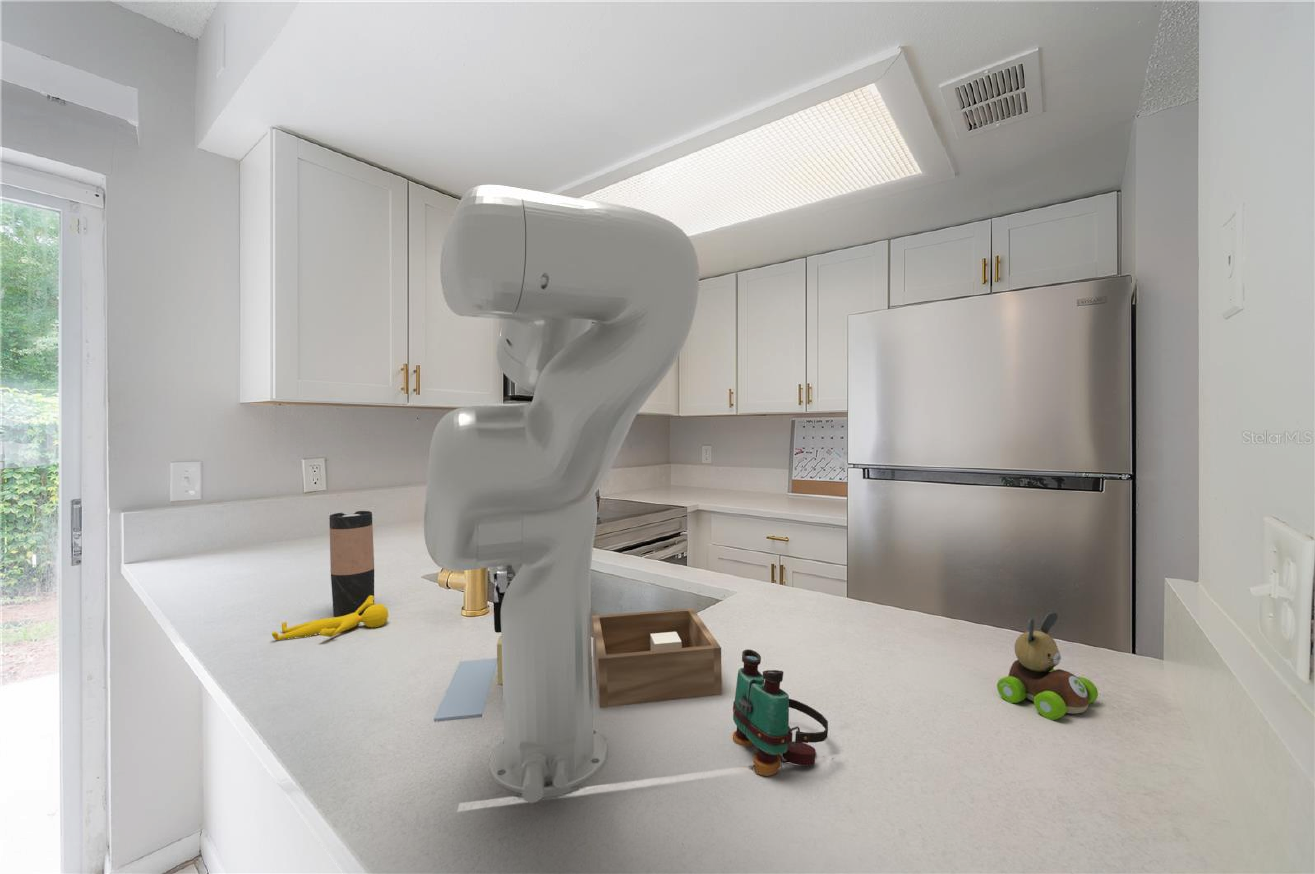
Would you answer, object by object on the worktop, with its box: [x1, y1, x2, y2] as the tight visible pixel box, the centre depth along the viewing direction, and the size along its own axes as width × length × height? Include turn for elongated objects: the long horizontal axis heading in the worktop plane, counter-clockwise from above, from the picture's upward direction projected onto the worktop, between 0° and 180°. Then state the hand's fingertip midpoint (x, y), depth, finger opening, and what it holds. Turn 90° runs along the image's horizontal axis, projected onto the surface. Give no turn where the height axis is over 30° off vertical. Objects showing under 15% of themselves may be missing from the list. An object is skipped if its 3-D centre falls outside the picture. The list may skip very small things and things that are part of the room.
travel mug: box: [329, 510, 375, 618], centre depth 110 cm, size 8×8×20 cm
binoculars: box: [732, 648, 829, 776], centre depth 61 cm, size 9×11×10 cm
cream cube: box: [650, 632, 682, 651], centre depth 82 cm, size 4×4×4 cm
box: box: [591, 607, 723, 708], centre depth 79 cm, size 16×16×7 cm
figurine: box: [271, 595, 389, 641], centre depth 101 cm, size 14×5×18 cm
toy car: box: [996, 611, 1099, 721], centre depth 70 cm, size 9×9×11 cm
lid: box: [433, 635, 503, 723], centre depth 78 cm, size 17×17×7 cm
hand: (511, 620), depth 77 cm, fingers open, 9 cm apart
